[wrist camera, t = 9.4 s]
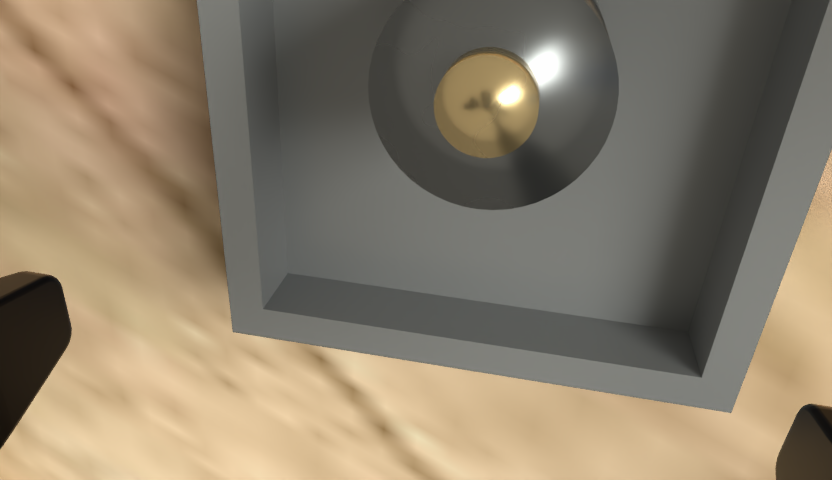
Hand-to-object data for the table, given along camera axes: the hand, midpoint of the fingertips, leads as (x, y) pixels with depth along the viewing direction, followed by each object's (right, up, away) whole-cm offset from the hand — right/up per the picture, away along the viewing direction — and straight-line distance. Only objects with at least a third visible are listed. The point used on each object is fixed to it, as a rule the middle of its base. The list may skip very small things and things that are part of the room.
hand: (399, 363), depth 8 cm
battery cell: (+3, +7, +8) cm, 11 cm away
